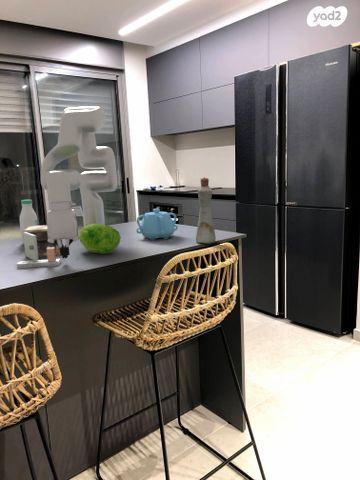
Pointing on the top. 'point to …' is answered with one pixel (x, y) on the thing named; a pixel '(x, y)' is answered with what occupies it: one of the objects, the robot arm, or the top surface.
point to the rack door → (30, 245)
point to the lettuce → (99, 238)
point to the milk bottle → (27, 216)
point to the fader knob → (51, 254)
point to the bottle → (205, 214)
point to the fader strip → (37, 263)
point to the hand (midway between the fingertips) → (65, 257)
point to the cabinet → (42, 239)
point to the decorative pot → (157, 224)
